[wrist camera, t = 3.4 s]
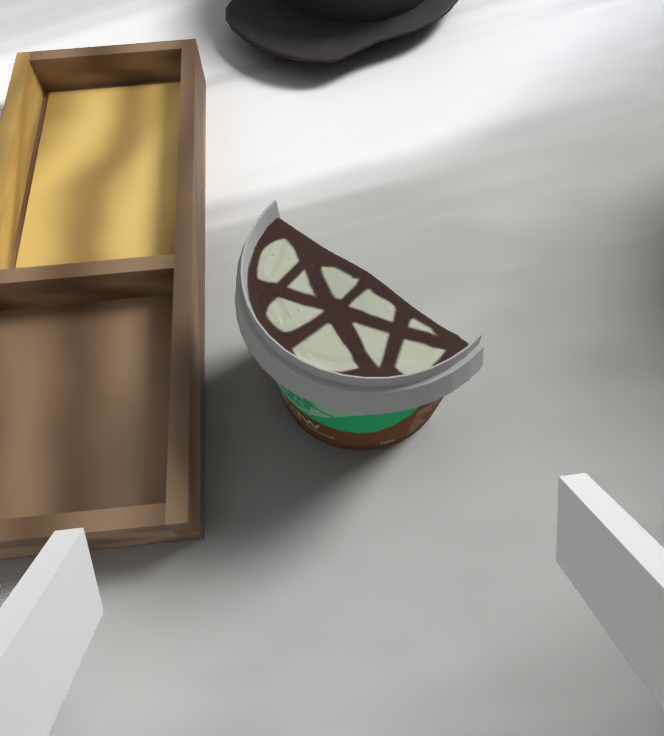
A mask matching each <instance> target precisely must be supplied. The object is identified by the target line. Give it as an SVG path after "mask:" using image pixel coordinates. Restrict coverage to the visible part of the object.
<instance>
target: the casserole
mask: <svg viewBox="0 0 664 736" xmlns="http://www.w3.org/2000/svg"><path fill="white" fill-rule="evenodd" d="M457 1H458V0H231V2H230V3H229V5H228V6H227V8H226V20H227V22H228V24H229V25H230V27H231V28H232V30H233V31H234V32H236V33H237V34H238V35H239V36H240V37H241V38H242V39H243V40H245V41H246V42H248V43H250V44H251V45H253V46H255V47H257V48H258V49H260V50H262V51H265V52H268V53H270V54H273V55H276V56H279V57H282V58H286V59H291V60H295V61H300V62H311V63H329V62H334V61H340V60H342V59H344V58H346V57H349V56H351V55H353V54H355V53H357V52H359V51H361V50H363V49H366V48H368V47H370V46H372V45H374V44H376V43H379V42H383V41H386V40H389V39H392V38H396V37H399V36H402V35H405V34H409V33H412V32H415V31H418V30H420V29H422V28H424V27H426V26H428V25H430V24H432V23H434V22H436V21H437V20H438V19H440V18H441V17H442V16H444V15H445V14H446V13H448V12H449V11H450V10H451V9H452V7H453V6H454V5H455V4H456V3H457Z"/></svg>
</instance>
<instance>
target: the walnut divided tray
mask: <svg viewBox="0 0 664 736" xmlns="http://www.w3.org/2000/svg"><path fill="white" fill-rule="evenodd" d="M205 102H206V81H205V77H204V73H203V69H202V64H201V60H200V56H199V51H198V47H197V43H196V39H188V40H175V41H163V42H150V43H137V44H124V45H111V46H99V47H86V48H73V49H60V50H47V51H35V52H22V53H17V55H16V59H15V63H14V68H13V72H12V76H11V80H10V84H9V88H8V92H7V96H6V100H5V104H4V108H3V112H2V116H1V120H0V560H1V559H10V558H20V557H30V556H37V555H38V554H39V553H40V551H41V550H42V548H43V547H44V545H45V544H46V543H47V541H48V540H49V538H50V537H51V536H52V534H53V533H54V531H57V530H66V529H75V528H84V532H85V536H86V540H87V544H88V548H89V550H97V549H106V548H116V547H125V546H135V545H145V544H154V543H164V542H173V541H183V540H192V539H202V538H204V346H205Z"/></svg>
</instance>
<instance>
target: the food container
mask: <svg viewBox="0 0 664 736" xmlns="http://www.w3.org/2000/svg"><path fill="white" fill-rule="evenodd" d="M235 305H236V315H237V321H238V324H239V328H240V331H241V334H242V337H243V339H244V341H245V343H246V345H247V347H248V349H249V351H250V353H251V354H252V355H253V357H254V358H255V359H256V360H257V362H258V363H259V364H260V366H261V367H262V368H263V369H264V370H265V371H266V372H267V373H268V374H269V375H270V376H271V377H272V378H273V379H274V380H276V382H277V384H278V387H279V389H280V392H281V394H282V397H283V399H284V401H285V404H286V406H287V408H288V410H289V411H290V413H291V414H292V416H293V417H294V419H295V420H296V421H297V423H298V424H299V425H300V426H301V427H302V428H303V429H304V430H305V431H306V432H308V433H309V434H311V435H312V436H313V437H315V438H316V439H318V440H320V441H322V442H325V443H327V444H329V445H332V446H335V447H339V448H342V449H350V450H372V449H378V448H383V447H386V446H389V445H392V444H395V443H398V442H400V441H402V440H403V439H405V438H407V437H409V436H410V435H412V434H413V433H414V432H416V431H417V430H419V429H420V428H421V427H422V426H423V425H424V424H425V423H426V422H427V421H428V419H429V418H430V417H431V415H432V414H433V412H434V411H435V409H436V408H437V406H438V405H439V403H440V402H441V400H442V399H443V397H444V396H445V395H447V394H449V393H451V392H453V391H454V390H456V389H457V388H458V387H460V386H461V385H463V384H464V383H465V382H467V381H468V380H469V379H470V378H471V377H472V376H473V375H474V374H475V373H476V372H477V371H478V370H479V369H480V368H481V367H482V361H483V349H484V347H483V346H482V345H480V344H479V342H480V339H481V334H479V335H478V336H477V337H476V338H475V339H474V340H473V341H472V342H471V343H470V344H468V343H467V342H466V341H464V340H462V339H461V338H460V337H459V336H458V335H457V334H454V333H452V332H450V331H448V330H446V329H445V328H443V327H441V326H440V325H438V324H437V323H435V322H434V321H432V320H431V319H429V318H428V317H427V316H425V315H424V314H422V313H421V312H419V311H418V310H416V309H415V308H414V307H412V306H411V305H410V304H408V303H407V302H406V301H404V300H403V299H402V298H401V297H399V296H398V295H397V294H396V293H394V292H393V291H392V290H391V289H389V288H388V287H387V286H386V285H384V284H383V283H382V282H380V281H379V280H378V279H376V278H375V277H374V276H372V275H371V274H370V273H368V272H367V271H365V270H363V269H361V268H360V267H358V266H356V265H354V264H353V263H351V262H349V261H347V260H345V259H343V258H341V257H339V256H337V255H336V254H334V253H332V252H330V251H328V250H327V249H325V248H323V247H322V246H320V245H319V244H317V243H316V242H314V241H313V240H311V239H310V238H308V237H307V236H305V235H304V234H302V233H301V232H299V231H298V230H296V229H295V228H293V227H292V226H290V225H289V224H287V223H286V222H284V221H283V220H281V219H280V215H279V211H278V207H277V202H276V200H274V201H273V202H272V203H271V204H270V205H269V206H268V207H267V208H266V209H265V210H264V211H263V213H262V214H261V215H260V217H259V218H258V219H257V221H256V222H255V224H254V225H253V227H252V229H251V231H250V233H249V235H248V237H247V239H246V242H245V244H244V246H243V249H242V252H241V256H240V259H239V262H238V269H237V279H236V294H235Z"/></svg>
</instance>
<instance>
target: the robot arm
mask: <svg viewBox="0 0 664 736" xmlns="http://www.w3.org/2000/svg"><path fill="white" fill-rule="evenodd" d="M556 561H557V563H558V564H559V566H560V567H561V568H562V570H563V571H564V573H565V574H566V575H567V577H568V578H569V580H570V581H571V582H572V584H573V585H574V587H575V588H576V589H577V591H578V592H579V594H580V595H581V596H582V598H583V599H584V601H585V602H586V603H587V605H588V606H589V608H590V609H591V610H592V612H593V613H594V615H595V616H596V618H597V619H598V620H599V622H600V623H601V625H602V626H603V627H604V629H605V630H606V632H607V633H608V634H609V636H610V637H611V639H612V640H613V641H614V643H615V644H616V646H617V647H618V648H619V650H620V651H621V653H622V654H623V655H624V657H625V658H626V660H627V661H628V662H629V664H630V665H631V667H632V668H633V669H634V671H635V672H636V674H637V675H638V676H639V678H640V679H641V681H642V682H643V683H644V685H645V686H646V688H647V689H648V690H649V692H650V693H651V695H652V696H653V698H654V699H655V700H656V702H657V703H658V705H659V706H660V707H661V709H662V710H663V712H664V548H663V547H662V546H661V545H660V544H659V543H658V542H657V541H656V540H655V539H654V538H653V537H652V536H651V535H649V534H648V533H647V532H646V531H645V530H644V529H643V528H642V527H641V526H640V525H639V524H638V523H637V522H636V521H635V520H634V519H633V518H632V517H631V516H630V515H629V514H628V513H627V512H626V511H624V510H623V509H622V508H621V507H620V506H619V505H618V504H617V503H616V502H615V501H614V500H613V499H612V498H611V497H610V496H609V495H608V494H607V493H606V492H605V491H604V490H603V489H602V488H601V487H600V486H598V485H597V484H596V483H595V482H594V481H593V480H592V479H591V478H590V477H589V476H588V475H587V474H586V473H583V474H574V475H565V476H559V485H558V517H557V549H556ZM103 613H104V610H103V606H102V602H101V598H100V594H99V590H98V586H97V581H96V577H95V573H94V569H93V565H92V561H91V556H90V552H89V548H88V544H87V540H86V536H85V532H84V528H75V529H66V530H57V531H54V533H53V534H52V536H51V537H50V538H49V540H48V541H47V543H46V544H45V545H44V547H43V548H42V550H41V551H40V553H39V554H38V555H37V557H36V558H35V560H34V561H33V562H32V564H31V565H30V567H29V568H28V569H27V571H26V572H25V574H24V575H23V576H22V578H21V579H20V581H19V582H18V584H17V585H16V586H15V588H14V589H13V591H12V592H11V593H10V595H9V596H8V598H7V599H6V600H5V602H4V603H3V605H2V606H1V607H0V736H48V734H49V732H50V729H51V727H52V725H53V723H54V721H55V719H56V716H57V714H58V712H59V710H60V708H61V705H62V703H63V701H64V699H65V697H66V694H67V692H68V690H69V688H70V686H71V683H72V681H73V679H74V677H75V675H76V672H77V670H78V668H79V666H80V664H81V661H82V659H83V657H84V655H85V653H86V650H87V648H88V646H89V644H90V642H91V639H92V637H93V635H94V633H95V631H96V628H97V626H98V624H99V622H100V620H101V617H102V615H103Z"/></svg>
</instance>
